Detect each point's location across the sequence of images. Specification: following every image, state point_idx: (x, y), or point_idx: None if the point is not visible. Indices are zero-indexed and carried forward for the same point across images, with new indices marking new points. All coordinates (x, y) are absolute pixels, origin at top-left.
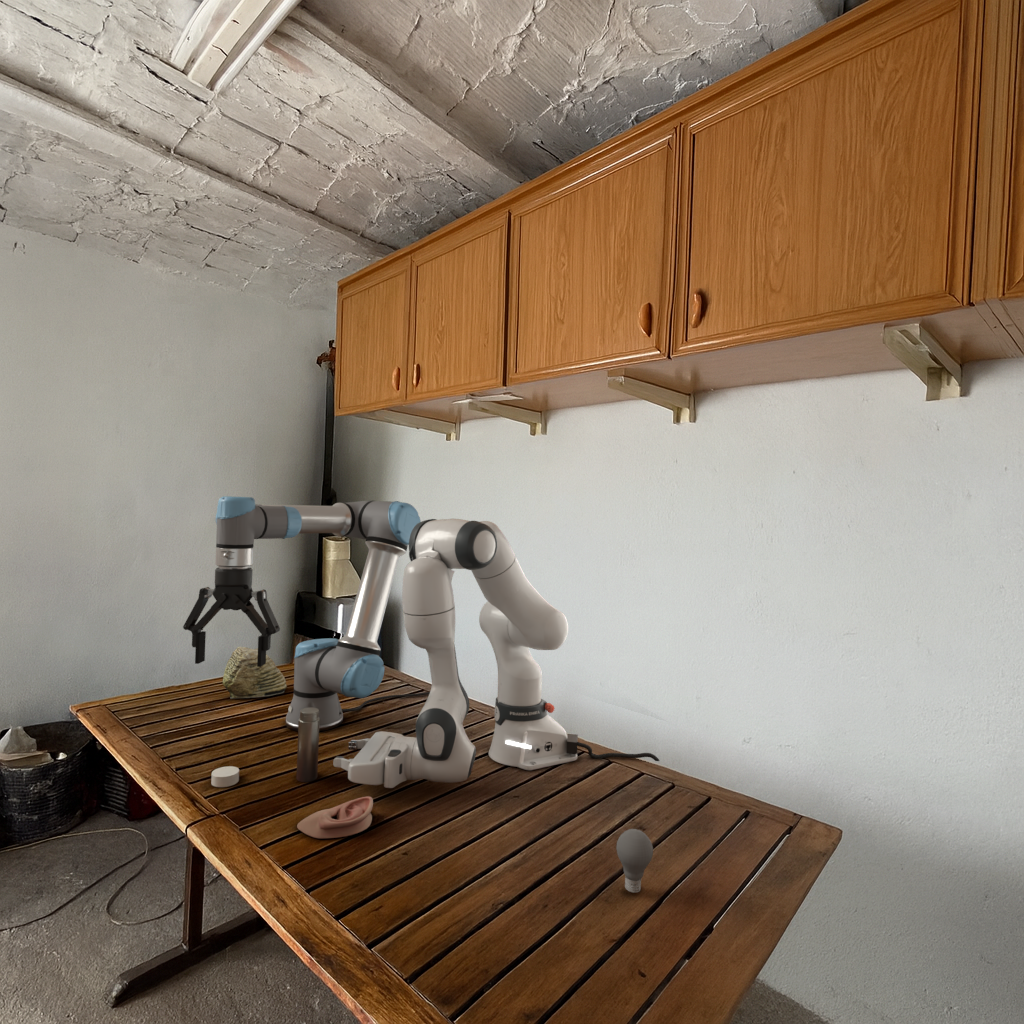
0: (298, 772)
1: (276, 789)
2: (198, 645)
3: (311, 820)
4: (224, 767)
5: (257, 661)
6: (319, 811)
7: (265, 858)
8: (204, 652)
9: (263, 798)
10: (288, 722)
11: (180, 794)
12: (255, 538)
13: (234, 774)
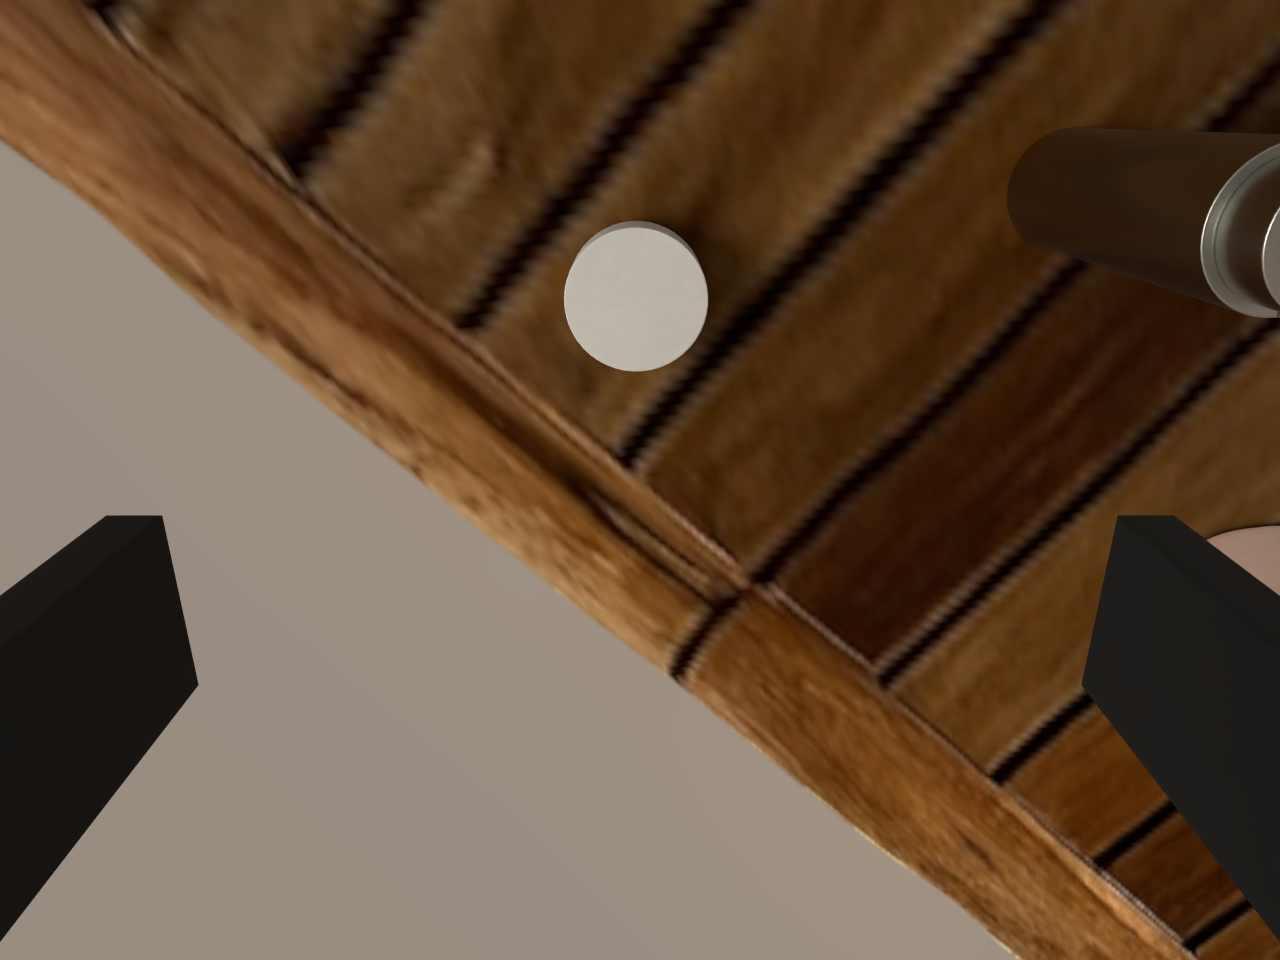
0: (1043, 243)
1: (931, 346)
2: (14, 904)
3: None
4: (605, 249)
5: (1121, 736)
6: None
7: (1027, 828)
8: (87, 598)
9: (894, 442)
10: None
11: (492, 445)
12: None
13: (700, 329)
